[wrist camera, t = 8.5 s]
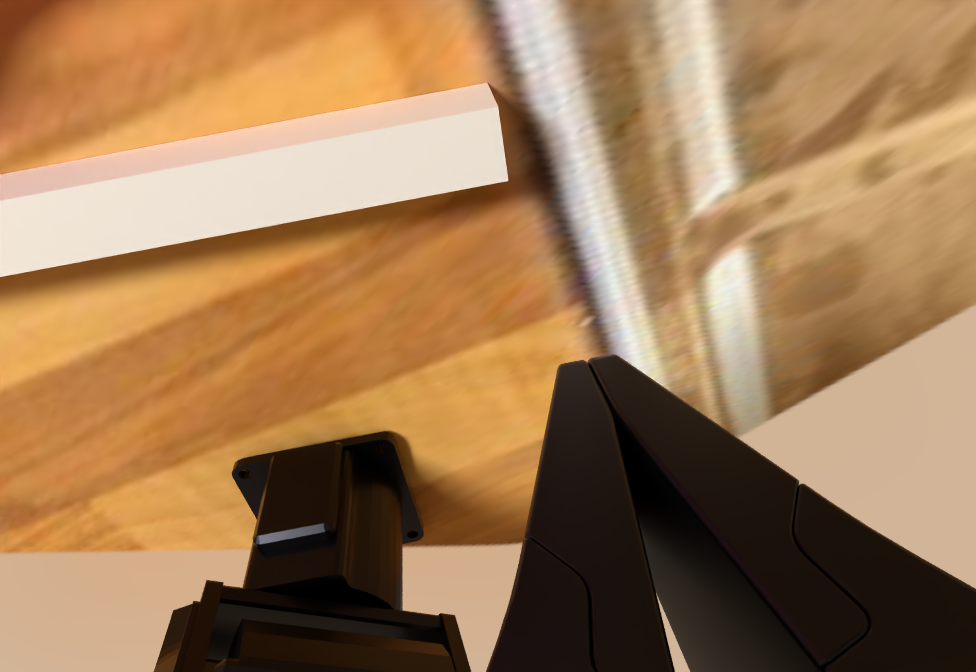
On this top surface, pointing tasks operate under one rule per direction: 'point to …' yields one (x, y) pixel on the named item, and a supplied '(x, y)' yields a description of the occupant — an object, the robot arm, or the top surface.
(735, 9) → the top surface
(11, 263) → the chute
